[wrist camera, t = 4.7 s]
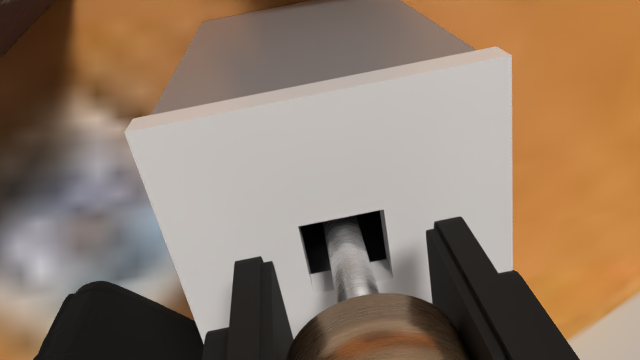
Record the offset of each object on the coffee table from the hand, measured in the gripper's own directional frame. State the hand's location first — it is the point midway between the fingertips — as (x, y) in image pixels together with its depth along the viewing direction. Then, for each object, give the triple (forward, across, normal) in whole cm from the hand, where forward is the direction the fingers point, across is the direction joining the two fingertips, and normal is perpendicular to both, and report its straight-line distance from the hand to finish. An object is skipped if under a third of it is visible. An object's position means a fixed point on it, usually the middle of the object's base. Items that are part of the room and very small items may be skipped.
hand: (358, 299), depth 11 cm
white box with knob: (+15, 0, 0) cm, 15 cm away
